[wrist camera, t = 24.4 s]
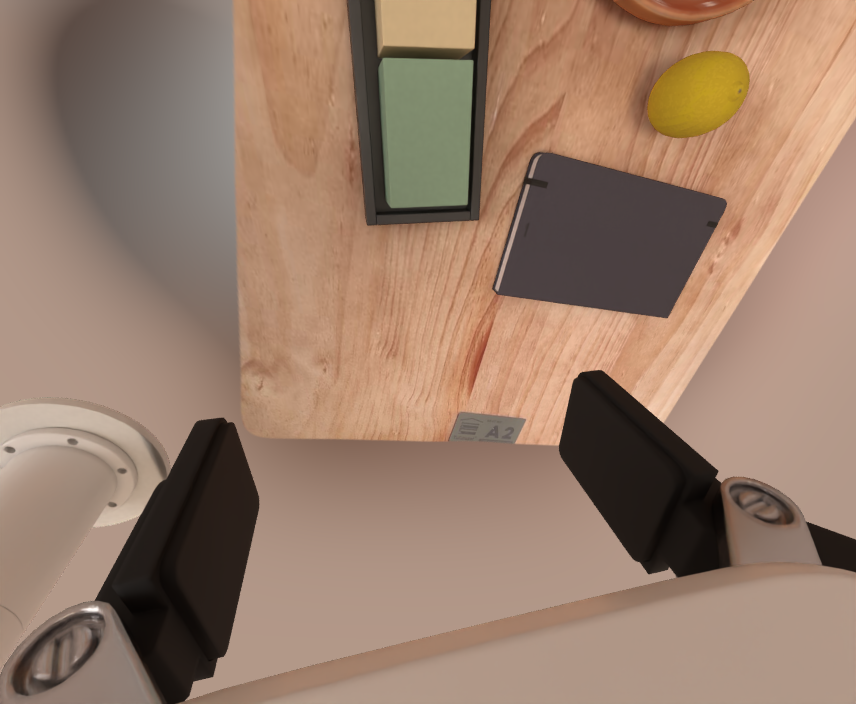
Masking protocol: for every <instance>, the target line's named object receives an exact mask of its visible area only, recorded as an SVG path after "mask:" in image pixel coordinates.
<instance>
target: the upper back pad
mask: <svg viewBox="0 0 856 704" xmlns="http://www.w3.org/2000/svg"><path fill="white" fill-rule="evenodd" d="M476 2H477V0H374V5H375V21H376V38H377V55H378V58H416V59H451V60H459V59H460V58H462V57H463V56H465V55H466V54H468V53H469V52H470V51H472V50H473V49H474V48H475V26H476Z"/></svg>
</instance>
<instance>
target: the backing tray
mask: <svg viewBox="0 0 856 704" xmlns="http://www.w3.org/2000/svg"><path fill="white" fill-rule="evenodd" d="M347 8H348V19H349V31H350V43H351V54H352V66H353V77H354V89H355V100H356V112H357V124H358V135H359V147H360V158H361V170H362V182H363V193H364V205H365V216H366V222H367V225H389V224H410V223H431V222H452V221H470V220H471V221H473V220H479V210H480V192H481V173H482V155H483V137H484V119H485V101H486V83H487V64H488V46H489V28H490V10H491V0H477V2H476V26H475V48H474V49H473V50H472V51H470V52H469V53H468V54H466V55H465V56H463V57H462V58H460V59H459V60H473V85H472V109H471V134H470V159H469V184H468V205H457V206H432V207H408V208H391V207H390V206H389V205H388V203H387V202H386V200H385V184H384V167H383V151H382V134H381V118H380V101H379V85H378V67H379V65H380V63H381V61H382V59H383V58H378V55H377V38H376V21H375V5H374V0H347Z"/></svg>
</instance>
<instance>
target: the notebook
mask: <svg viewBox="0 0 856 704" xmlns="http://www.w3.org/2000/svg"><path fill="white" fill-rule="evenodd" d="M726 205H727V202H726V200H725V199H723V198H719V197H715V196H712V195H708V194H704V193H700V192H697V191H693V190H689V189H685V188H681V187H678V186H674V185H670V184H666V183H663V182H659V181H655V180H651V179H647V178H644V177H640V176H636V175H632V174H629V173H625V172H621V171H617V170H613V169H610V168H606V167H602V166H598V165H595V164H591V163H587V162H583V161H579V160H576V159H572V158H568V157H564V156H560V155H557V154H553V153H541V152H539V153H536V154H534V156H533V157H532V158H531V161H530V163H529V167H528V170H527V173H526V177H525V179H524V184H523V187H522V190H521V194H520V197H519V201H518V204H517V207H516V211H515V214H514V218H513V221H512V224H511V228H510V231H509V235H508V238H507V241H506V245H505V248H504V251H503V255H502V258H501V262H500V265H499V268H498V272H497V275H496V279H495V282H494V285H493V290H494V291H495V292H496V293H497V294H498V295H505V296H512V297H519V298H526V299H533V300H540V301H548V302H555V303H562V304H569V305H576V306H583V307H591V308H598V309H605V310H612V311H619V312H626V313H633V314H641V315H648V316H655V317H662V318H668V316H669V314H670V313H671V311H672V309H673V307H674V305H675V303H676V301H677V299H678V298H679V296H680V294H681V292H682V290H683V288H684V286H685V284H686V282H687V281H688V279H689V277H690V275H691V273H692V271H693V269H694V267H695V265H696V264H697V262H698V260H699V258H700V256H701V254H702V252H703V250H704V249H705V247H706V245H707V243H708V241H709V239H710V237H711V235H712V233H713V232H714V230H715V228H716V227H717V225H718V222H719V220H720V218H721V216H722V215H723V213H724V211H725V208H726Z"/></svg>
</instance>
